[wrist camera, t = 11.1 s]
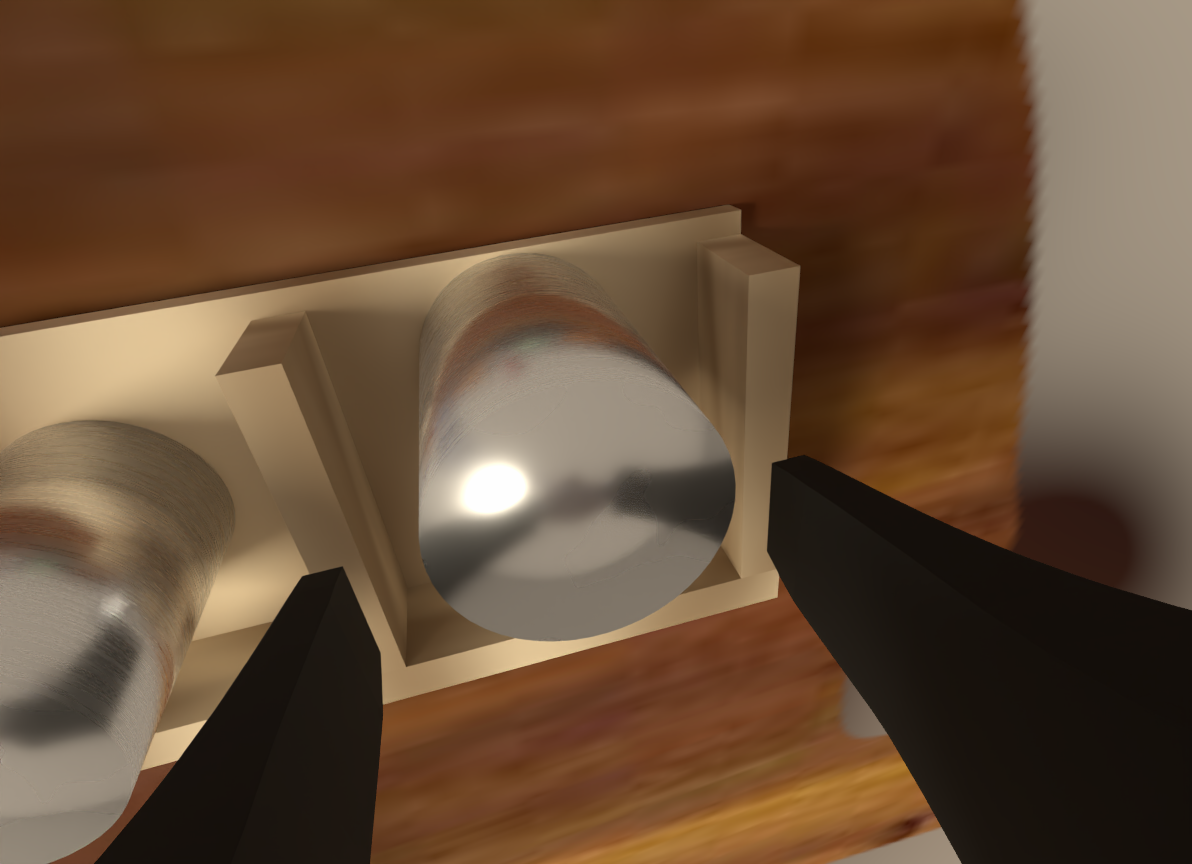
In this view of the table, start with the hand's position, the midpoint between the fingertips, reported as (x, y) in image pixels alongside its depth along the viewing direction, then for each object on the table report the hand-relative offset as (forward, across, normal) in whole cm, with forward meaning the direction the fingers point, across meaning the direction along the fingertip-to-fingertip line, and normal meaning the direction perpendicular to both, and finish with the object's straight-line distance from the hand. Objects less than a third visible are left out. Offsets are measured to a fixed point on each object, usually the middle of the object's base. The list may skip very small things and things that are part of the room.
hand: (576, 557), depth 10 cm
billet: (+5, 0, -2) cm, 5 cm away
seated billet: (+5, +9, 0) cm, 10 cm away
